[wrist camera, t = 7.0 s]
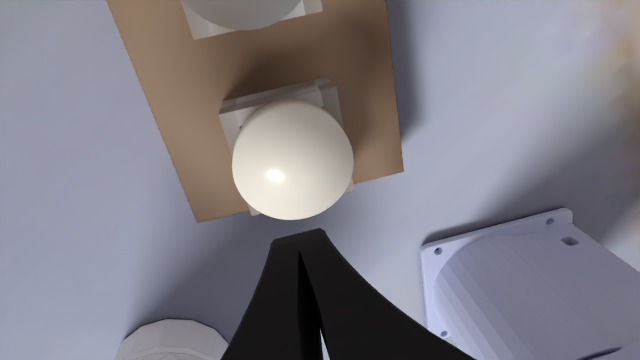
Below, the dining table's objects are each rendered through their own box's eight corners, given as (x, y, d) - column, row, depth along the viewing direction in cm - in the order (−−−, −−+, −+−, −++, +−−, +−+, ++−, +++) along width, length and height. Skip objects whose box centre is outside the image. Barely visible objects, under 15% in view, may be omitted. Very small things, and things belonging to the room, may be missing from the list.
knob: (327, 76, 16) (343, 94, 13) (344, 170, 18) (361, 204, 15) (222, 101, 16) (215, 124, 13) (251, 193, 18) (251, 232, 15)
